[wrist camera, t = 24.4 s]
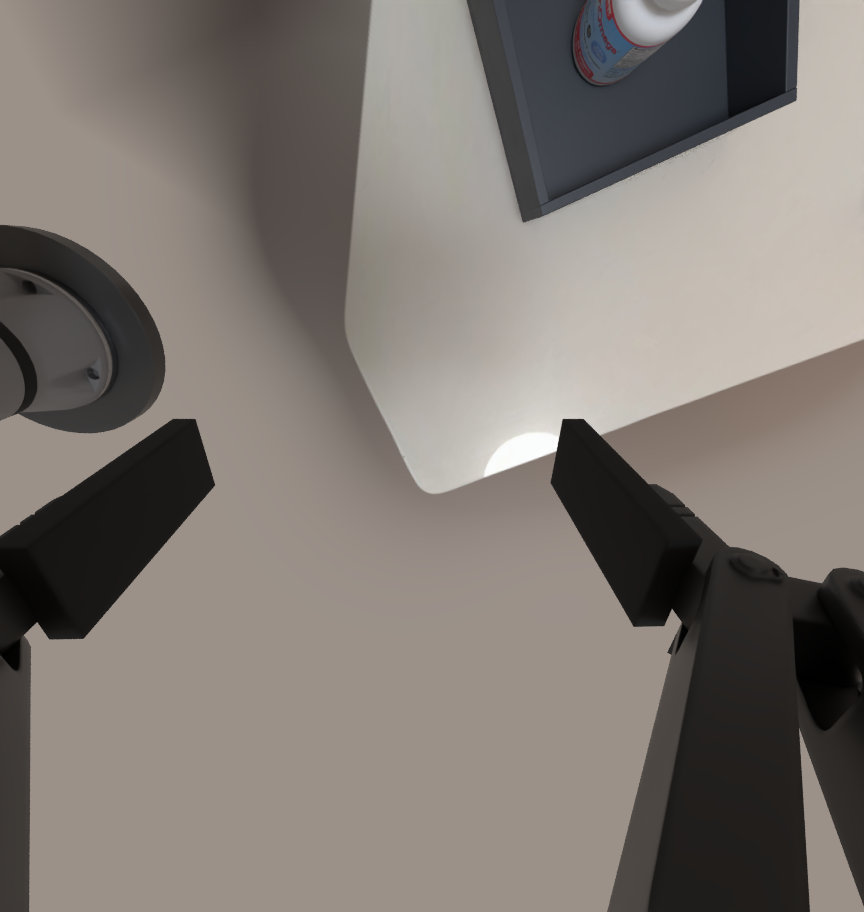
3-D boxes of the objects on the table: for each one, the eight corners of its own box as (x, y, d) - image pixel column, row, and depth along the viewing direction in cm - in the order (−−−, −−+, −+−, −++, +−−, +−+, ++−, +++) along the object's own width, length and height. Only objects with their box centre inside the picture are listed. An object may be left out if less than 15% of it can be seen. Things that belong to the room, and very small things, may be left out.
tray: (452, -57, 29) (460, -139, 23) (721, -217, 26) (811, -359, 20) (522, 222, 38) (542, 216, 32) (731, 127, 35) (796, 100, 29)
